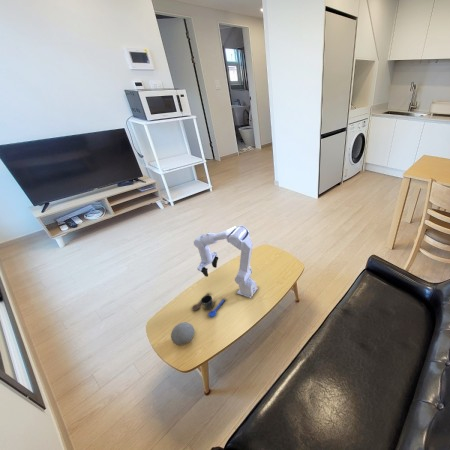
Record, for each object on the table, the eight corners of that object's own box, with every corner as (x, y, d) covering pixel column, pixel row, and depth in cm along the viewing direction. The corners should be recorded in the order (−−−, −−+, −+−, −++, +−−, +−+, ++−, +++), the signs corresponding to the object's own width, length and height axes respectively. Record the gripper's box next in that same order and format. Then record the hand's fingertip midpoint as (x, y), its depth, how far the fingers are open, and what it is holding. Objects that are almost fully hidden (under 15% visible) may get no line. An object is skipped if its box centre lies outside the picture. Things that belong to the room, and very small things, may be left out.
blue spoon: (221, 299, 135) (221, 298, 135) (226, 300, 134) (226, 300, 134) (207, 316, 126) (207, 315, 126) (213, 318, 125) (212, 317, 125)
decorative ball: (174, 353, 110) (167, 341, 104) (174, 334, 118) (168, 322, 112) (197, 344, 113) (191, 332, 108) (195, 327, 121) (190, 315, 115)
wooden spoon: (206, 293, 139) (205, 292, 138) (211, 295, 138) (210, 294, 137) (191, 309, 130) (190, 308, 129) (196, 311, 128) (196, 310, 128)
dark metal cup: (216, 303, 133) (213, 297, 130) (209, 311, 129) (207, 304, 126) (208, 300, 135) (205, 294, 131) (201, 308, 130) (198, 301, 127)
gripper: (208, 244, 140) (213, 261, 147) (190, 260, 129) (196, 278, 136) (218, 247, 138) (222, 264, 145) (200, 263, 126) (206, 281, 134)
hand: (210, 271), depth 140 cm, fingers open, 7 cm apart
